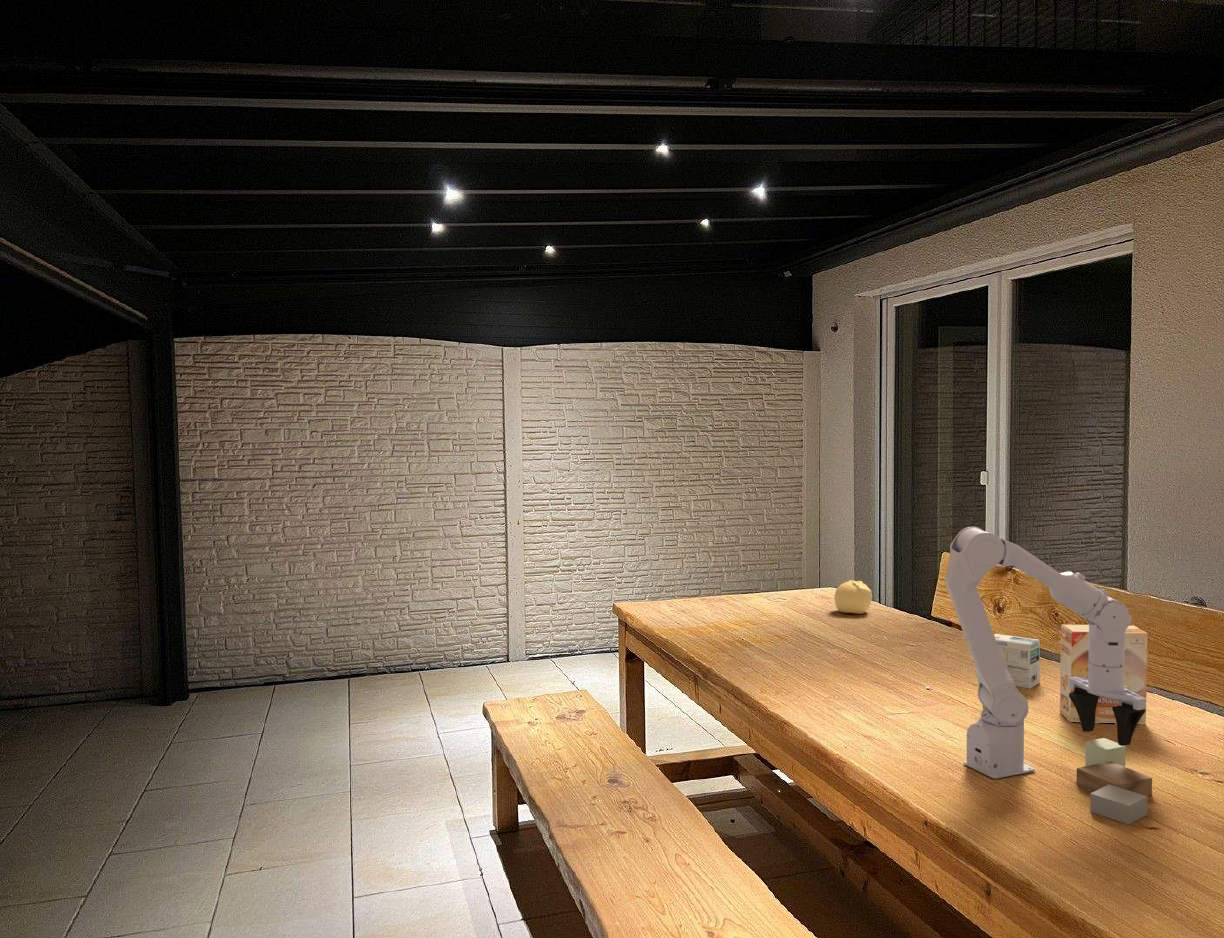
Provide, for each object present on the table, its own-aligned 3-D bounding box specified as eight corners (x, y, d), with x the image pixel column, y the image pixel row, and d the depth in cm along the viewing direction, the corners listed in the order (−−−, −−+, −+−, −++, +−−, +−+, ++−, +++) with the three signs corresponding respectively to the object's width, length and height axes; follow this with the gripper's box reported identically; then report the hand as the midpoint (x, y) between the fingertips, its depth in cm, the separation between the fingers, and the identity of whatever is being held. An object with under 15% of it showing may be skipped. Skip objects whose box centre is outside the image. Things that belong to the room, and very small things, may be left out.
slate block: (1128, 824, 142) (1129, 805, 142) (1090, 811, 147) (1090, 793, 147) (1147, 814, 145) (1147, 796, 145) (1108, 802, 150) (1109, 784, 150)
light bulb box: (1040, 683, 217) (1041, 638, 217) (1031, 689, 212) (1031, 644, 212) (995, 675, 225) (995, 632, 224) (984, 681, 220) (985, 637, 219)
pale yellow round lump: (876, 615, 294) (876, 582, 293) (839, 616, 294) (839, 583, 293) (866, 608, 305) (866, 576, 305) (830, 609, 305) (830, 577, 305)
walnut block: (1116, 802, 150) (1116, 784, 150) (1076, 784, 157) (1076, 767, 157) (1151, 795, 153) (1152, 777, 152) (1111, 777, 160) (1111, 761, 160)
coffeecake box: (1070, 723, 189) (1071, 631, 188) (1058, 712, 196) (1059, 623, 195) (1147, 725, 187) (1148, 632, 186) (1132, 714, 194) (1134, 624, 193)
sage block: (1106, 777, 161) (1106, 749, 160) (1085, 768, 165) (1085, 741, 165) (1125, 773, 162) (1125, 746, 162) (1103, 764, 166) (1104, 737, 166)
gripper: (1159, 670, 157) (1158, 747, 158) (1089, 651, 171) (1089, 722, 171) (1129, 675, 155) (1128, 753, 155) (1060, 655, 168) (1060, 727, 169)
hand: (1105, 737), depth 163 cm, fingers open, 7 cm apart
